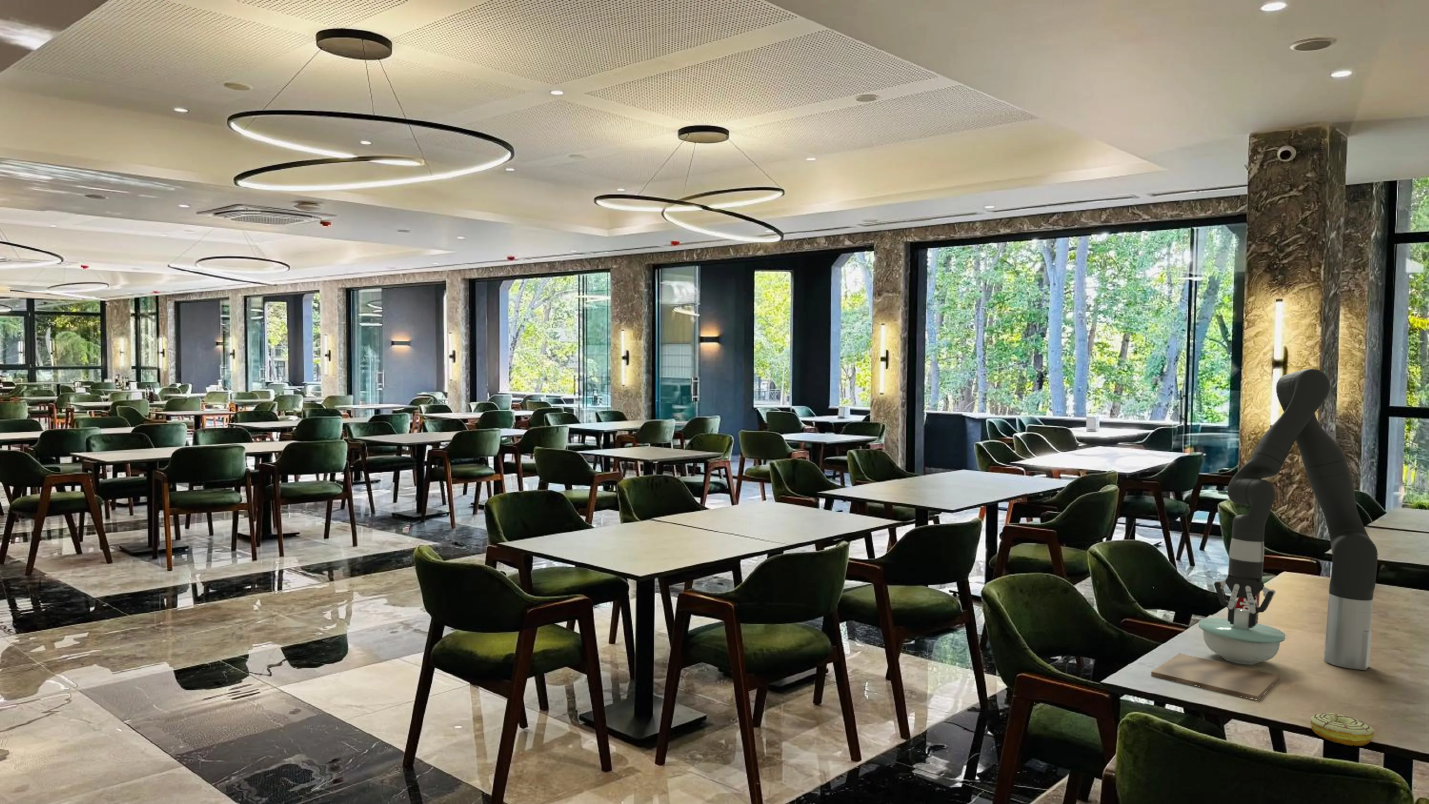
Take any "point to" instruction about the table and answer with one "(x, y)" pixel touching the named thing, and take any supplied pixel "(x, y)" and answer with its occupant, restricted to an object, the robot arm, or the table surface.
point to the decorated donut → (1341, 729)
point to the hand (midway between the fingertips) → (1241, 625)
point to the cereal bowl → (1240, 649)
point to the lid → (1241, 629)
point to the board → (1216, 676)
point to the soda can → (1246, 603)
